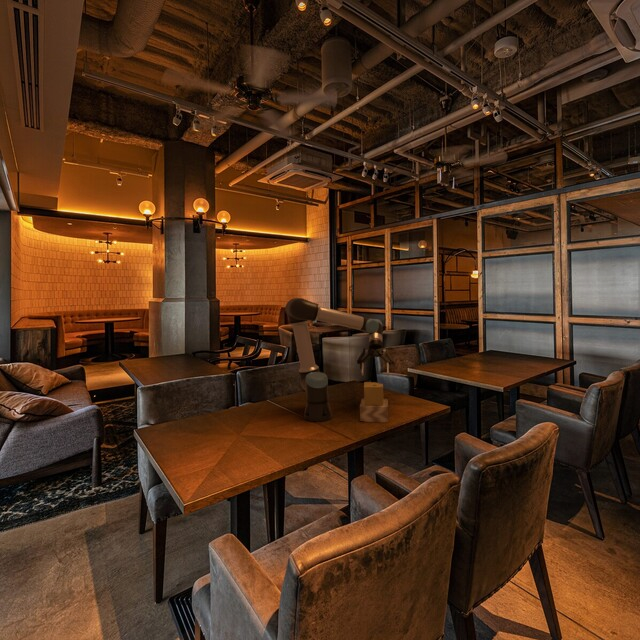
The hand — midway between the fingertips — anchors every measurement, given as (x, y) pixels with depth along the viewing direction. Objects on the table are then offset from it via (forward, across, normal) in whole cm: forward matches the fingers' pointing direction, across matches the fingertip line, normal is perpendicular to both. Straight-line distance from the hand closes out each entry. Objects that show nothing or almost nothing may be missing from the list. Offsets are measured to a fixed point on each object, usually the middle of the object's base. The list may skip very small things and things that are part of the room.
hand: (375, 374), depth 201 cm
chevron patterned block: (+19, +1, -11) cm, 23 cm away
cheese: (+14, +1, -6) cm, 15 cm away
